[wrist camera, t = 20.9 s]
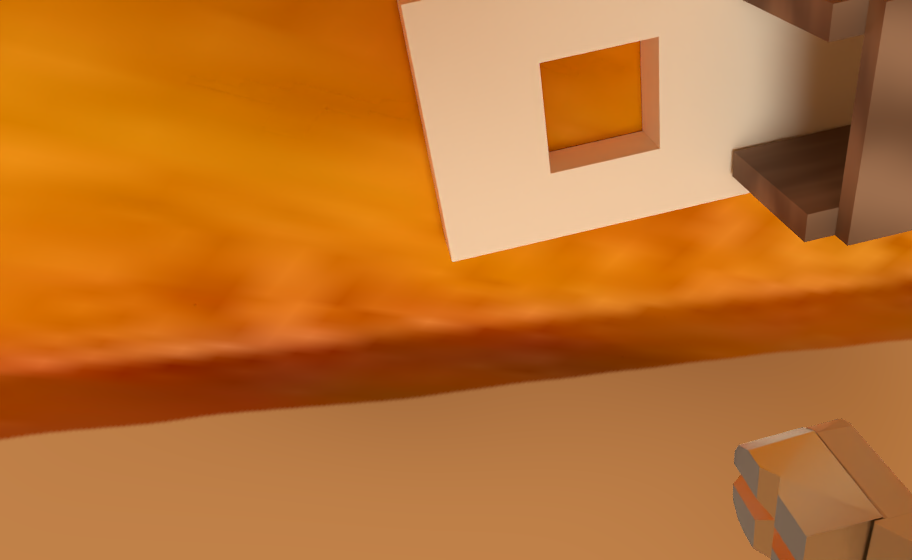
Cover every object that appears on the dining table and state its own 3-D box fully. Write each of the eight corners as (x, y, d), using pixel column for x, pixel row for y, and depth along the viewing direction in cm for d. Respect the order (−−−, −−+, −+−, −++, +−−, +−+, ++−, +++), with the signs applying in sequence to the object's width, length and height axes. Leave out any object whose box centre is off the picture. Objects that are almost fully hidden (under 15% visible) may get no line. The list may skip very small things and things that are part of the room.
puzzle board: (395, -8, 36) (400, 4, 34) (1026, -144, 37) (1068, -140, 35) (445, 239, 44) (452, 262, 42) (963, 119, 45) (995, 135, 43)
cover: (743, -34, 35) (848, 10, 28) (985, -86, 36) (1145, -56, 29) (732, 176, 41) (816, 253, 34) (938, 128, 42) (1060, 194, 35)
